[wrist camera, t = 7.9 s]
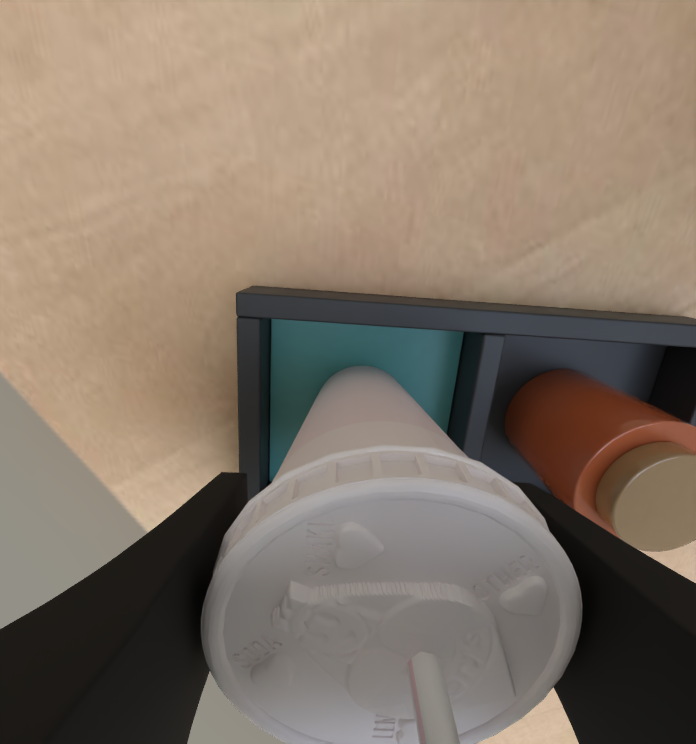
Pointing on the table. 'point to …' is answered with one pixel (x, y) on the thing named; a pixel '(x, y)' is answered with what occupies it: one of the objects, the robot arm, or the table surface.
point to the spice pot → (608, 456)
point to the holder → (441, 363)
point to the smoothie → (387, 584)
